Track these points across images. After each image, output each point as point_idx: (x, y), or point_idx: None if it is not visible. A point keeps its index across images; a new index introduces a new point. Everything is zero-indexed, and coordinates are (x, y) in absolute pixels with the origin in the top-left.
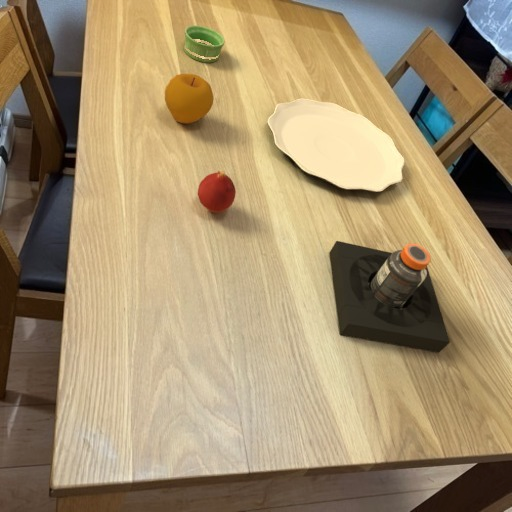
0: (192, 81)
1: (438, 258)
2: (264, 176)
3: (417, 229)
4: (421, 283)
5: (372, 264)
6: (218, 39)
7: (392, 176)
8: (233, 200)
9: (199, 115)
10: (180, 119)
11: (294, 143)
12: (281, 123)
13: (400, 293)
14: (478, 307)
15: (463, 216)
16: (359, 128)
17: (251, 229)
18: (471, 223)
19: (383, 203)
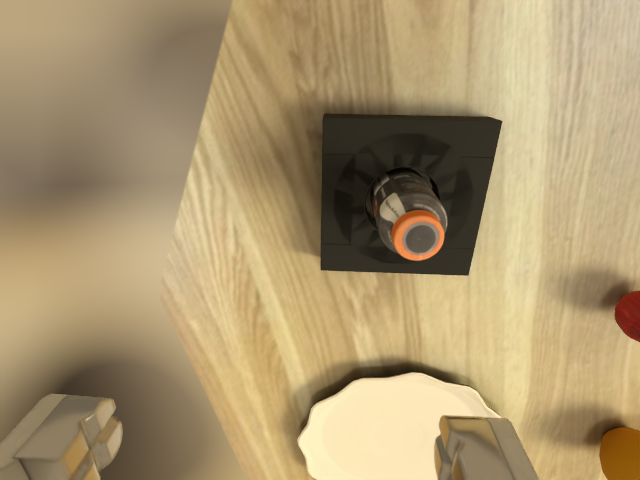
0: None
1: (275, 287)
2: (522, 369)
3: (297, 331)
4: (341, 224)
5: None
6: None
7: (323, 410)
8: (629, 309)
9: (624, 442)
10: (637, 430)
11: None
12: None
13: (413, 182)
14: (229, 212)
15: (212, 369)
16: (348, 478)
17: (573, 277)
18: (201, 360)
19: (342, 364)
